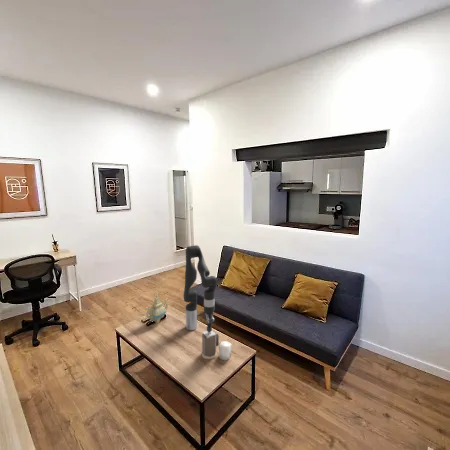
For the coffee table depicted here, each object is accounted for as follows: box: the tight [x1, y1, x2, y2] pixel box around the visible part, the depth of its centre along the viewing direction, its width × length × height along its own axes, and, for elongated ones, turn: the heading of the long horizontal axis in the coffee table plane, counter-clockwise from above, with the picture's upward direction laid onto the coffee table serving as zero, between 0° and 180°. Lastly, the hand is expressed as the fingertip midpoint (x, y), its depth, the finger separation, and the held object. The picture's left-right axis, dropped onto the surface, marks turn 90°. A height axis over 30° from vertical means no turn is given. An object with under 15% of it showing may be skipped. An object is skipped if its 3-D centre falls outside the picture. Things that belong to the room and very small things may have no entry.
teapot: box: [144, 290, 169, 324], centre depth 218 cm, size 24×12×30 cm, turn 144°
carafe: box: [201, 329, 220, 360], centre depth 179 cm, size 11×13×16 cm
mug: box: [218, 340, 233, 361], centre depth 178 cm, size 8×10×9 cm
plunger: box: [206, 326, 213, 334], centre depth 178 cm, size 4×4×17 cm
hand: (209, 327), depth 177 cm, fingers closed
